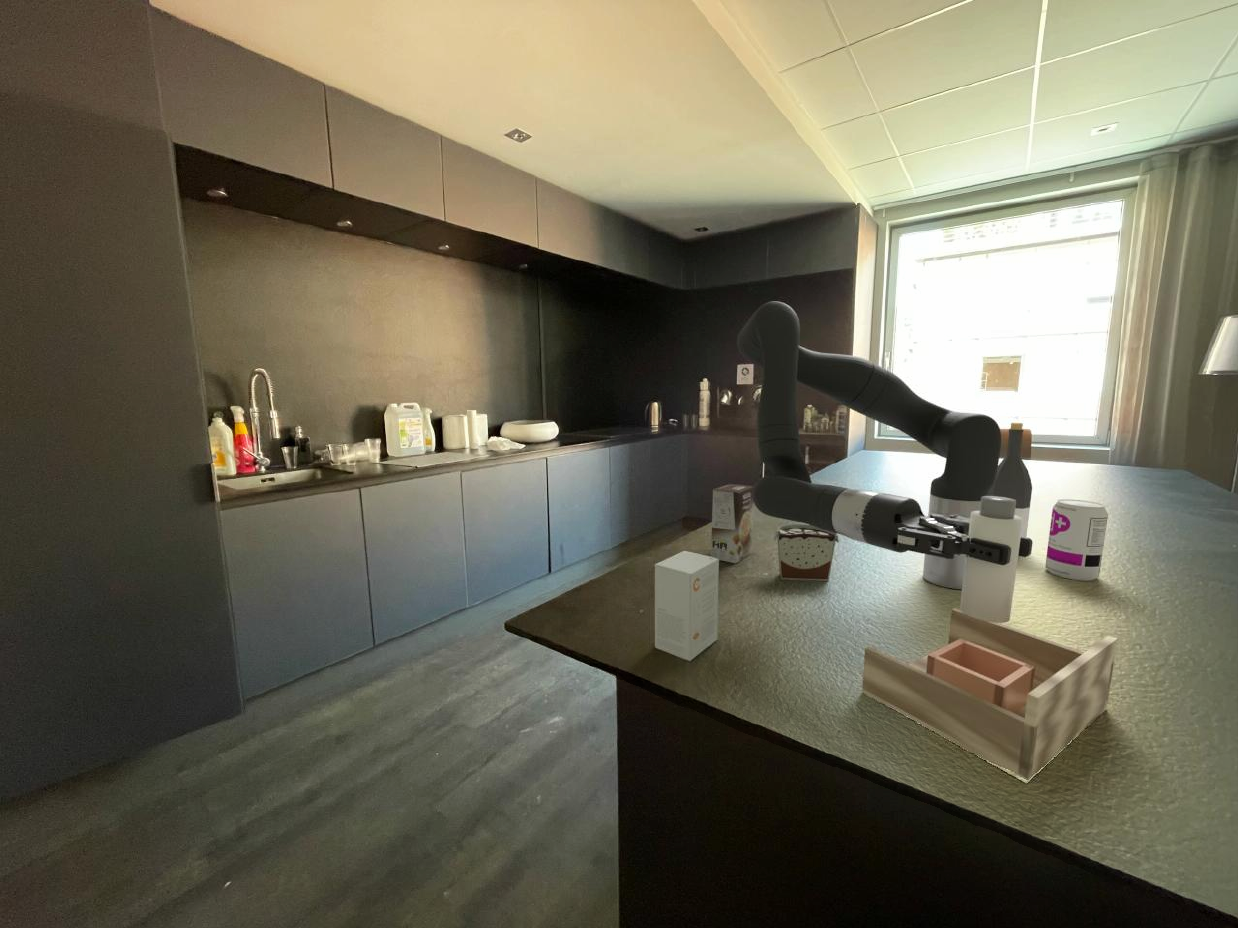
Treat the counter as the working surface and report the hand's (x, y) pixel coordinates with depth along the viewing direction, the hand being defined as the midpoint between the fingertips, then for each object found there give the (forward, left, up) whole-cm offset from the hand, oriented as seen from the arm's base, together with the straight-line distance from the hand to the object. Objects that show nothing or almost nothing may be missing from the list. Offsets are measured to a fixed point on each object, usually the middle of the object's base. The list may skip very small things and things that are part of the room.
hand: (1019, 551), depth 55 cm
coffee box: (-12, -58, -20) cm, 62 cm away
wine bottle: (-71, -28, -20) cm, 79 cm away
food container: (-16, -42, -20) cm, 49 cm away
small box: (+22, -32, -20) cm, 43 cm away
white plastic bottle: (0, -3, -8) cm, 9 cm away
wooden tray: (0, -3, -19) cm, 20 cm away
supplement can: (-63, -13, -20) cm, 67 cm away
